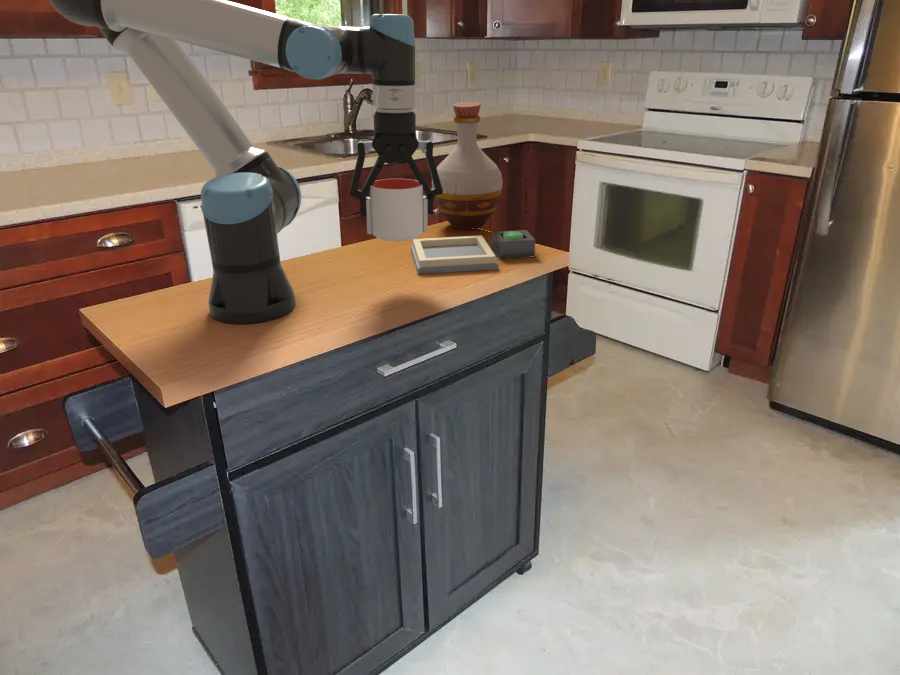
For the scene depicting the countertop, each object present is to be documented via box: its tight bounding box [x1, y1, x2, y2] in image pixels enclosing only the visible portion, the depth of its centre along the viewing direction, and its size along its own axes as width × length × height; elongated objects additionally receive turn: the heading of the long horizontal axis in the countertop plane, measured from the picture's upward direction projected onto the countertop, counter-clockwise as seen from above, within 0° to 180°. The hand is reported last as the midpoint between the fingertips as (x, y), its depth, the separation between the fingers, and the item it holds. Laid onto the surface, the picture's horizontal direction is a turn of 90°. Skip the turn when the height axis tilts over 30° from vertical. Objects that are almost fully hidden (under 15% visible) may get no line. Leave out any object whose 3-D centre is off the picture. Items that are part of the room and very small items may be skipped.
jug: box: [431, 101, 504, 230], centre depth 166 cm, size 20×18×30 cm
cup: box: [369, 178, 424, 242], centre depth 126 cm, size 10×10×10 cm
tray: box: [410, 235, 499, 275], centre depth 146 cm, size 17×17×3 cm
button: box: [503, 230, 523, 240], centre depth 148 cm, size 4×4×3 cm
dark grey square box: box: [491, 229, 536, 260], centre depth 149 cm, size 8×8×4 cm
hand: (397, 231), depth 128 cm, fingers closed on cup, 10 cm apart
